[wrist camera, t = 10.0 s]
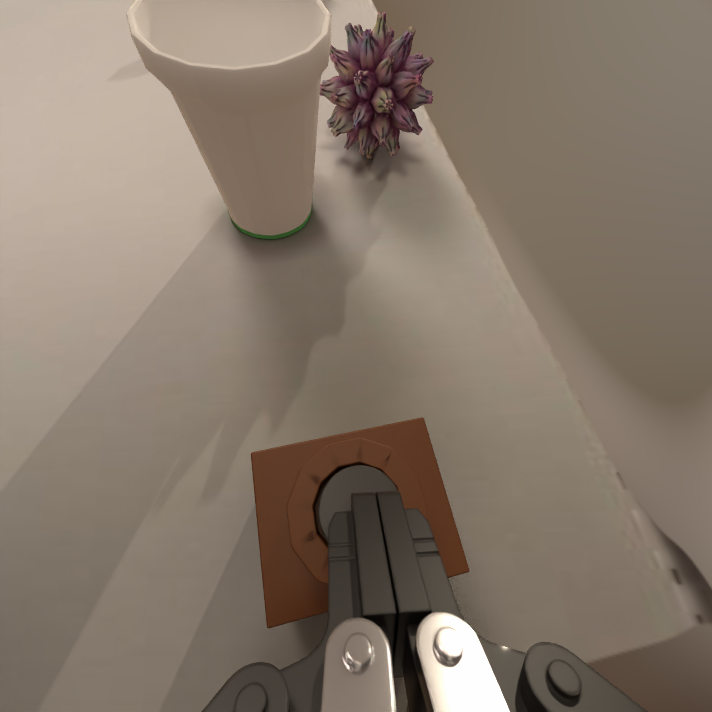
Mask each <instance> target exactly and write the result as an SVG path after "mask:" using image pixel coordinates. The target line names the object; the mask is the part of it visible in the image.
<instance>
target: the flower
mask: <svg viewBox="0 0 712 712" xmlns="http://www.w3.org/2000/svg"><path fill="white" fill-rule="evenodd" d="M345 30H346V32H347V37H348V40H347V42H348V52H347V51H342V50H337V49H335V48H334V47H333V46H332V45H331V47H330V54H329V55H330V58H331V61H332V62H333V63H334V65H335V68H336V70H337V72H338V73H339V75H340V76H336V77H333V78H331V79H330V80H323V81H322V83H323V84H320V95H322V96H325V97H326V98H327V99H328V100H329V101H331V102H332V103H333V104H335V105H337V106H336V107H335V109H334V111H333V113H332V116H331V118H330V119H329V120H327V124H328V125H329V128H331V127H332V128H331V132H332V133H333V135H334V136H335V137H337V136H338V135H339V134H341V133H347V141H346V144H345V146H344V148H345V149H347V150H348V149H349V147H350V146H351V145H352V144H354V143H355V142H356V141H357V140H358V141H359V145H360V150H359V153H361V155H364V152H365V150H366V157H367V158H369V159H370V158H371V159H372V155H373V152H374V150H375V149H376V148H377V146H378V144H379V145H381V146H383V147H385V148H386V149H387V150H388V152H389V154H390V156H391V157H392V156H393V155H394V154H396V153H397V150H399V148H400V146H399V142H398V139H399V134H400V130H402V131H405V132H413V133H415V134H417V135H419V133H420V132H421V131H422V128H421V127H420V126H419V124H418V121H417V118H416V115H415V113H414V112H413V111H412V109H416V108H418V107H419V106H421V105H423V104H431V103H432V101H433V100H432V97H433V96H432V91H430V90H425V89H424V88H423V87H422V86H421V85H420V84H421V83H422V79H423V78H422V75H423V73H424V71H425V70H426V69H427V68H428V67H429V66H430V65H431V64H432V63H433V62H434V61H433V59H432V58H431V57H428V58H426V59H423V57H422V54H421V53H420V52H419V53H417V54H415V55H409V54H410V51H411V46H412V40H413V36H414V34H415V31H416V30H415V29H413V27H412V26H411V27H410V28H409V29H408V31H405V32H404V34H403V35H402V37H401V38H399V39H397V40H395V41H394V40H393V37H394V31H393V30H392V28H389V29H387V26H386V13H385V12H383V13H381V12H378V15H377V22H376V25H375V27H374V29H373V31H372V32H371V29H369V30H367V29H366V30H365V32H363V30H362V27H361V25H357V26H355V25H354V29H353V27H352V25H351V23H349V24H348V25H346V26H345ZM399 129H400V130H399Z"/></svg>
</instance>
